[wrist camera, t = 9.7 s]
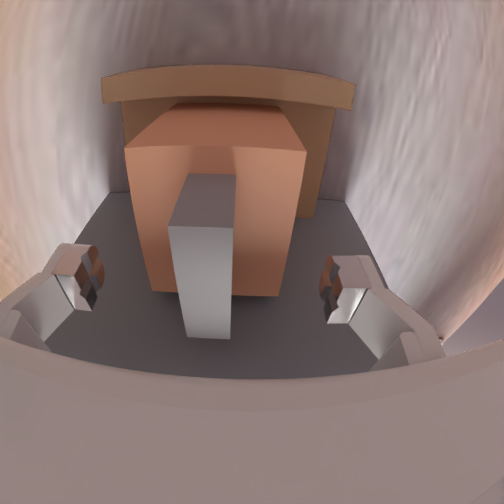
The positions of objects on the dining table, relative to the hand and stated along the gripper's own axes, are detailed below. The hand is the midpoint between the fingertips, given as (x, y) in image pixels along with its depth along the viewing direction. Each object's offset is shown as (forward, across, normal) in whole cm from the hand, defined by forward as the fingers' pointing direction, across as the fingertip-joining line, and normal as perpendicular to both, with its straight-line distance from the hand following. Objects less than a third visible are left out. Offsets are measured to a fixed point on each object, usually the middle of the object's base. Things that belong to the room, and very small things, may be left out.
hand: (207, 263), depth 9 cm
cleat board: (+13, 0, -2) cm, 13 cm away
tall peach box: (+10, 0, 0) cm, 10 cm away
